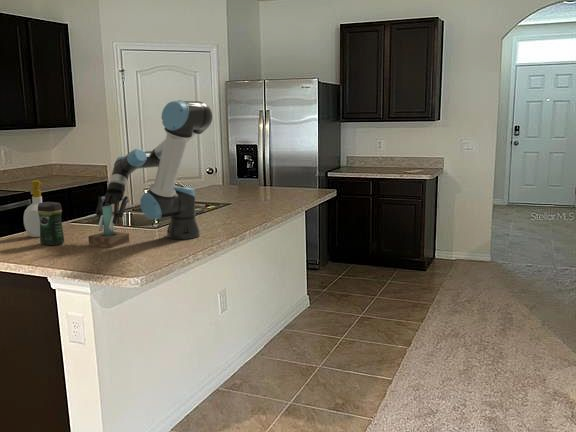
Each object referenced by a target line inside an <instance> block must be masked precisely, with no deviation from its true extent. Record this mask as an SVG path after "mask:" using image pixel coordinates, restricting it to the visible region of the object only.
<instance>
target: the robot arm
mask: <svg viewBox="0 0 576 432" xmlns="http://www.w3.org/2000/svg"><path fill="white" fill-rule="evenodd" d="M161 120H162V121H161V122H162V125H163V126H164V131H165V133H166V135H165V139H164V140H163V141H161V142H160V143H159V145H157V146H156V147H155V148H153V149H152V150H151V151H150V150H149V151H144V150H143V149H140V148H134V149H133V150H131V151H130V152H128V153H127V154H126V155H125V156H119V157H117V158H116V159H115V161H114V164H113V168H112V172H111V176H110V179H109V182H108V185H107V189H106V193H105V194H104V196H101V195H99V196H98V202H97V206H96V210H95V215H96V216H97V218H98V219H97V222H98V226H97V230H98V231H99V232H102V231H103V228H104V226H103V209H102V207H103V206H112V205H113V206H114V207H113V214H112V217H111V221H110V225H109V229H110V231H112V230H113V231H114V227H115V225H116V224H117V222H118V219H119V218H123V217H124V215H125V214H124V213H125V210H126V207H127V204H128V202H129V198H128V196H127V195H126V196H125V191H126V188H127V184H128V180H129V176H130V175H131V174H133V172H135V171H136V170H138V169H148V168H157V172H156V175H155V178H154V183H152V184H151V185H149V189H148V193H147V192H146V193H144V194H142V195H141V198H140V201H139V203H140V204H139V205H140V209H141V211H142V213H143V215H144V216H145V217H146V218H147V219H150V220H160V219H163V218H169V219H170V220H169V223H168V226H167V230H166V237H167V239H171V240H191V239H196V238H199V237H200V236H201V231H200V229H199V225H198V223H197V219H196V196H195V195H196V194H195V192H196V191H195V189H194V188H192V187H185V186H183V187H182V186H175V185H176V182H177V178H178V174H179V171H180V167H181V164H182V159H183V156H184V152H185V149H186V145H187V143H188V142H190V141H191V140H192V139H193V138H194V137H195V136H197V135H202V134H203V133H204V132H205V131H206V130H207V129H208V128H210V126H211V125H212V121H213V112H212V109H211V108H210V106H208V105H207V104H206V103H205V102H203V101H200V100H199V101H197V100H196V101H194V100H193V101H192V100H189V101H188V100H173V101H170V102H168V103H167V104H166V105H165V106H164V107H163V109H162V111H161ZM104 202H105V203H104ZM120 202H121V203H120ZM119 206H120V207H119Z"/></svg>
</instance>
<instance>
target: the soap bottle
mask: <svg viewBox="0 0 576 432" xmlns="http://www.w3.org/2000/svg"><path fill="white" fill-rule="evenodd" d="M40 185H41V186H43V183H42V182H41V181H40V180H31V186H32V197H31V200H32V201H31V202H32V203H31V204H29V205H27V207H26V209H25V210H24V212H23V226H24V229H25V231H26V233H27V234H28V236H29V237H30V238H40V218H39V214H38V204H39V203H43V196H42V193H41V192H42V190H41V189H40Z"/></svg>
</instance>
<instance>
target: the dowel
mask: <svg viewBox="0 0 576 432" xmlns="http://www.w3.org/2000/svg"><path fill="white" fill-rule="evenodd" d="M102 209H103V232H104V236H113V235H114V232H115V231H114V229H113V230H112V231H110V229H109V225H110V221H111V217H112V215H113V206H112V205H111V206H104V205H103V206H102Z"/></svg>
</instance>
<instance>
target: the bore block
mask: <svg viewBox="0 0 576 432" xmlns="http://www.w3.org/2000/svg"><path fill="white" fill-rule="evenodd" d="M113 232H114V235H113V236H104V231H103V232H98V233H96V234H91V235H87V236H88V238H87V239H88V246H92V247H101V248H109V249H111V248H114V247H118V246H120V245H121V246H122V245H125V244H127V243H130V233H128V232H120V231H113Z"/></svg>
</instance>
